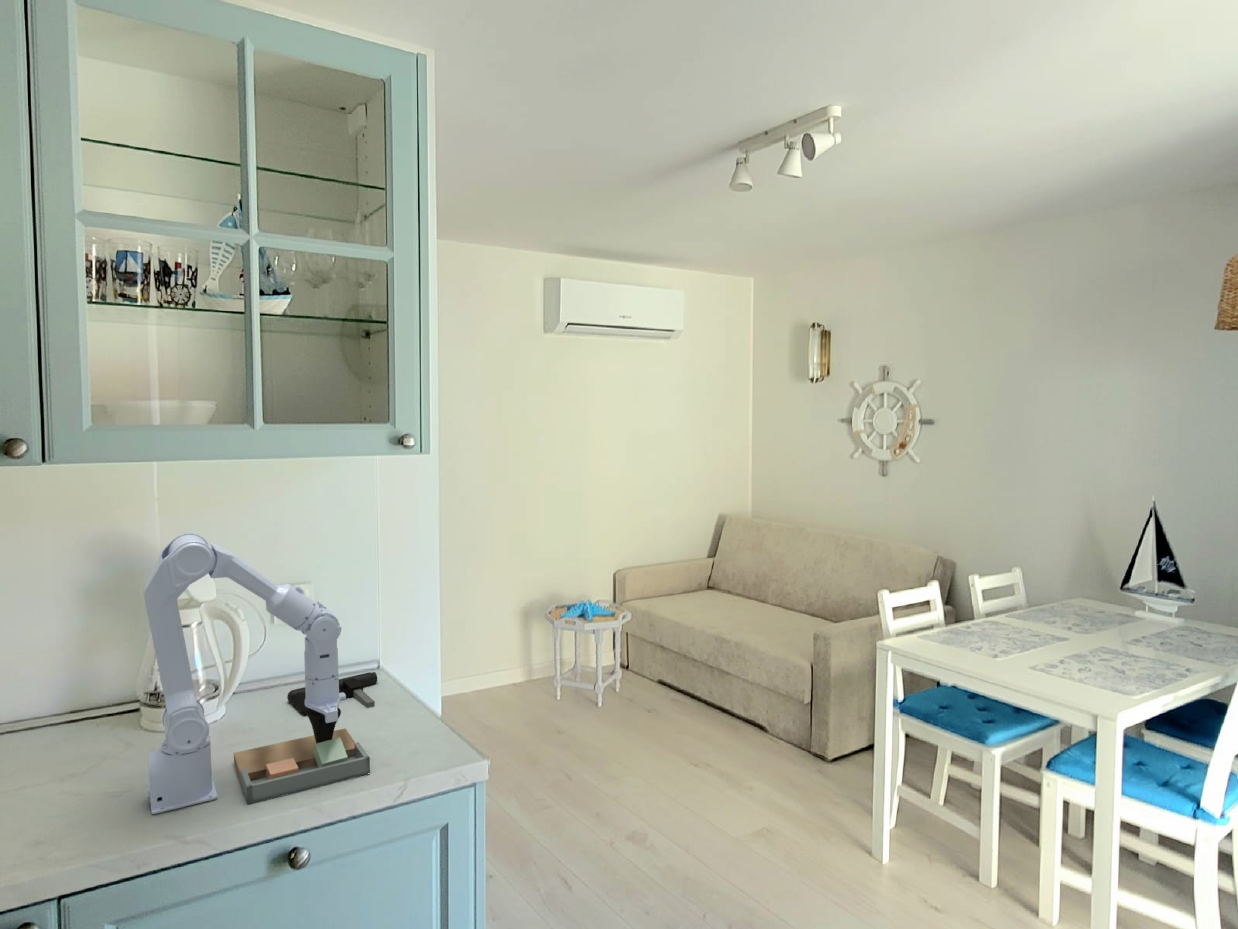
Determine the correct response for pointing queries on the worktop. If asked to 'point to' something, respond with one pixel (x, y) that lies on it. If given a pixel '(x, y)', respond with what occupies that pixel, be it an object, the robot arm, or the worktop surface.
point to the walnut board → (285, 754)
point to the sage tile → (330, 752)
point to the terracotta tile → (281, 769)
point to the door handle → (340, 691)
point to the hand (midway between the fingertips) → (323, 746)
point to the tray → (305, 778)
